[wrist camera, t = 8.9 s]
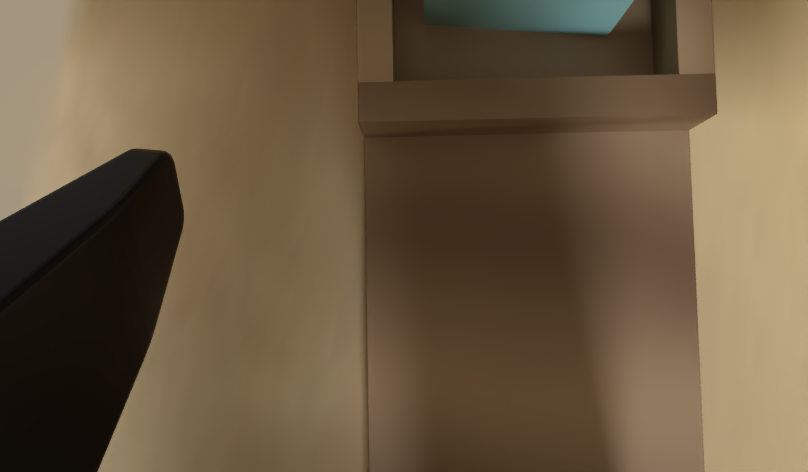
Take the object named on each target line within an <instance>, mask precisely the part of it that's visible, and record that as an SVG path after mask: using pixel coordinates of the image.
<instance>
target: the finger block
mask: <svg viewBox="0 0 808 472" xmlns="http://www.w3.org/2000/svg"><path fill="white" fill-rule="evenodd" d="M633 1H634V0H424V24H430V25H444V26H458V27H473V28H487V29H502V30H516V31H531V32H545V33H560V34H574V35H588V36H603V37H607V36H608V35H609V33H610V32H611V31H612V29H613V28H614V27H615V25H616V24H617V23H618V21H619V20H620V19H621V17H622V16H623V14H624V13H625V12H626V10H627V9H628V8H629V6H630V5H631V4H632V2H633Z"/></svg>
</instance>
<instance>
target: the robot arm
mask: <svg viewBox="0 0 808 472" xmlns="http://www.w3.org/2000/svg"><path fill="white" fill-rule="evenodd" d="M183 223H184V209H183V204H182V199H181V194H180V189H179V184H178V178H177V173H176V168H175V164H174V161H173V159H172V157H171V155H170V154H169V153H167V152H166V151H160V150H149V149H131V150H129V151H127V152H125V153H123V154H121V155H119V156H117V157H116V158H114V159H112V160H110V161H108V162H107V163H105V164H103V165H101V166H99V167H97V168H96V169H94V170H92V171H90V172H88V173H87V174H85V175H83V176H81V177H79V178H77V179H76V180H74V181H72V182H70V183H68V184H67V185H65V186H63V187H61V188H59V189H57V190H56V191H54V192H52V193H50V194H48V195H47V196H45V197H43V198H41V199H39V200H37V201H36V202H34V203H32V204H30V205H28V206H27V207H25V208H23V209H21V210H19V211H17V212H16V213H14V214H12V215H10V216H8V217H7V218H5V219H3V220H1V221H0V472H97V471H98V469H99V467H100V464H101V462H102V459H103V457H104V455H105V452H106V450H107V447H108V445H109V442H110V440H111V438H112V435H113V433H114V430H115V428H116V426H117V423H118V421H119V418H120V416H121V414H122V411H123V409H124V406H125V404H126V402H127V399H128V397H129V394H130V392H131V390H132V387H133V385H134V382H135V380H136V378H137V375H138V373H139V370H140V368H141V366H142V363H143V361H144V358H145V356H146V353H147V350H148V348H149V345H150V343H151V340H152V336H153V333H154V330H155V327H156V323H157V320H158V316H159V313H160V309H161V305H162V302H163V298H164V295H165V291H166V287H167V284H168V280H169V276H170V273H171V269H172V266H173V262H174V258H175V255H176V251H177V248H178V244H179V240H180V237H181V233H182V229H183Z"/></svg>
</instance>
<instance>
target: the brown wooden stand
mask: <svg viewBox="0 0 808 472" xmlns="http://www.w3.org/2000/svg"><path fill="white" fill-rule="evenodd" d="M357 62H358V123H359V125H360V128H361V130H362V133H363V135H364V142H365V209H366V276H367V343H368V409H369V472H705V471H704V449H703V427H702V405H701V383H700V361H699V339H698V317H697V295H696V273H695V251H694V229H693V207H692V185H691V163H690V141H689V130H690V129H692V128H693V127H695V126H697V125H699V124H700V123H702V122H704V121H705V120H707V119H709V118H711V117H712V116H714V115H716V114H717V99H716V78H715V58H714V37H713V16H712V0H634V1H633V2H632V4H631V5H630V6H629V8H628V9H627V10H626V12H625V13H624V14H623V16H622V17H621V19H620V20H619V21H618V23H617V24H616V25H615V27H614V28H613V29H612V31H611V32H610V33H609V35H608V36H607V37H603V36H588V35H574V34H560V33H545V32H531V31H516V30H502V29H487V28H473V27H458V26H444V25H430V24H424V0H357Z"/></svg>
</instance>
